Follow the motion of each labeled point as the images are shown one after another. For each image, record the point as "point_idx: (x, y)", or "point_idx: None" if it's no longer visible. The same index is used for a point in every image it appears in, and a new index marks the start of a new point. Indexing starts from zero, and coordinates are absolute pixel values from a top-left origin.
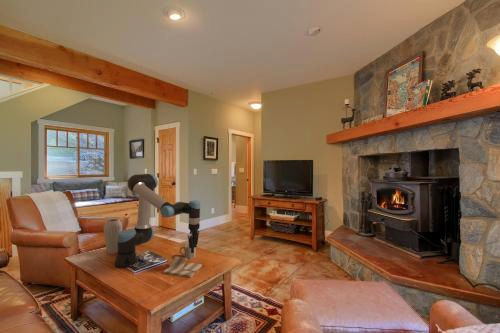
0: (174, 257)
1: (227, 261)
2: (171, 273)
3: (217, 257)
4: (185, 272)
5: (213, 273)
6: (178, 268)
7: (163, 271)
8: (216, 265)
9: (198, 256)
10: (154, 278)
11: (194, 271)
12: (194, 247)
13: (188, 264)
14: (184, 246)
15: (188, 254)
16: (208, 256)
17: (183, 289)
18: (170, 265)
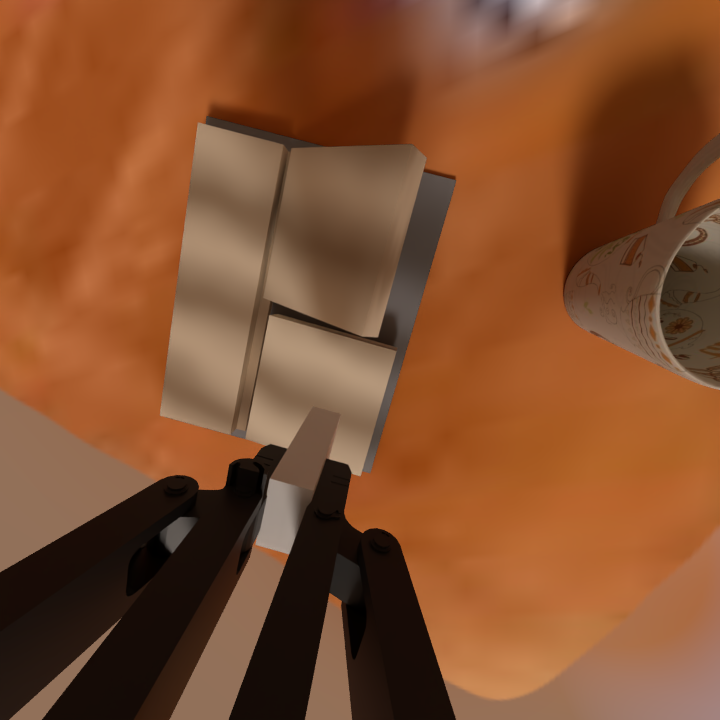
0: (394, 151)
1: (500, 639)
2: (190, 225)
3: (599, 561)
4: (204, 358)
5: (277, 553)
6: (274, 267)
7: (198, 125)
8: (419, 564)
9: (648, 381)
10: (126, 80)
11: (250, 425)
12: (292, 539)
13: (355, 349)
14: (712, 211)
15: (590, 296)
16: (635, 480)
17: (25, 391)
18: (309, 155)
